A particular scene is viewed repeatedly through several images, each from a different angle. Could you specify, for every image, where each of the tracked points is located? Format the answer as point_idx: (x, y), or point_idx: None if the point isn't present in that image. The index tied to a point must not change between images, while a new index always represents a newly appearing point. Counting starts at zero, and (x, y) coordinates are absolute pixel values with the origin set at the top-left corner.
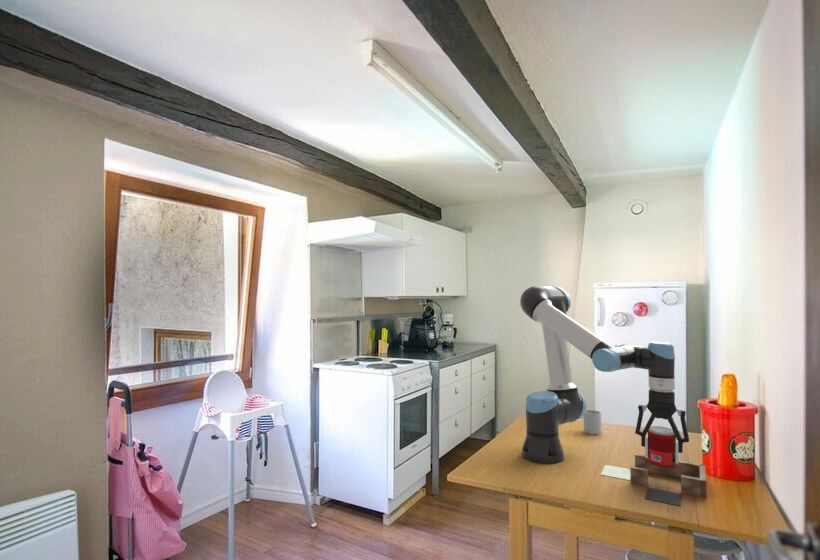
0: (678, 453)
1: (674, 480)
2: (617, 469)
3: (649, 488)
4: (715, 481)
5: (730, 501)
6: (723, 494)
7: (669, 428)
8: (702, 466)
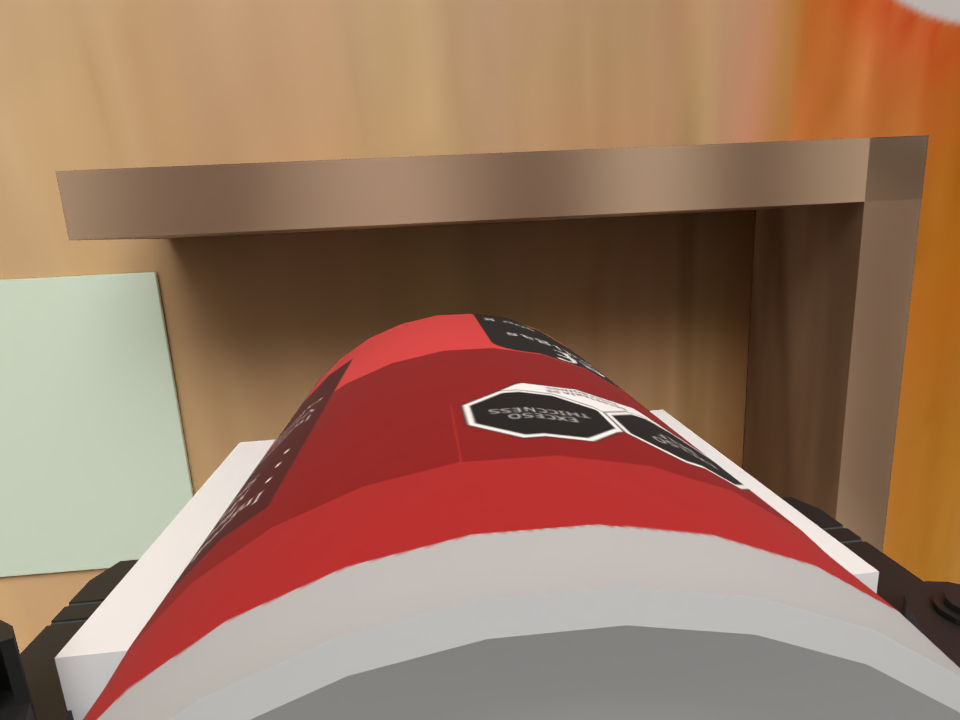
0: (714, 451)
1: (548, 329)
2: (15, 357)
3: None
4: (884, 135)
5: (922, 532)
6: (899, 423)
7: (910, 692)
8: (893, 223)
